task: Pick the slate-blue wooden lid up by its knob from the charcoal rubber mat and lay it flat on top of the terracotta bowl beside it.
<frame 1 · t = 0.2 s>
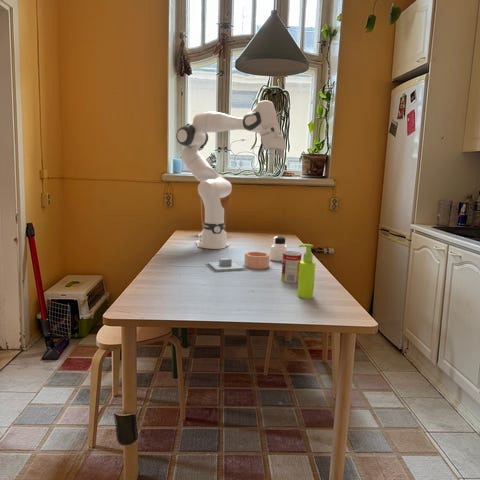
hand: (278, 158, 209), 52 cm above the table, tool tilted 20°, fingers open, 8 cm apart
mat: (225, 268, 190), on the table
bowl: (256, 266, 196), on the table
soap dispenser: (303, 296, 155), on the table
lid: (225, 267, 190), resting on mat
pancake mix bag: (213, 235, 274), on the table
medicine bottle: (278, 259, 212), on the table
canned food: (290, 280, 175), on the table
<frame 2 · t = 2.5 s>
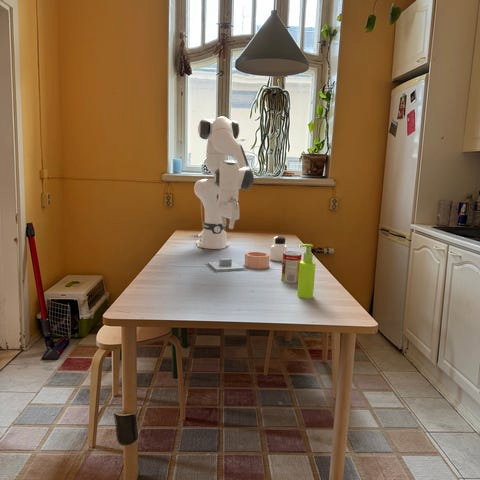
hand: (227, 227, 186), 19 cm above the table, tool pointing down, fingers open, 8 cm apart
nothing on the table moved.
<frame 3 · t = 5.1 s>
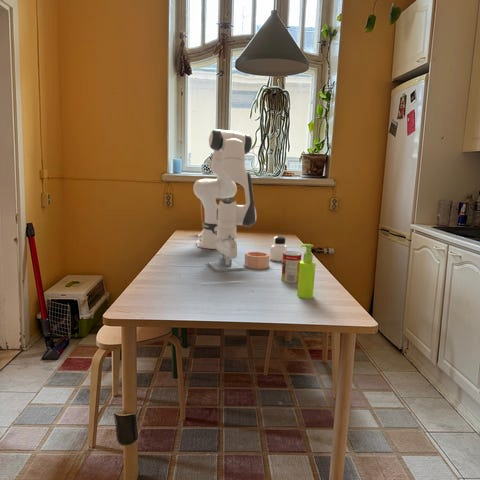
hand: (225, 263, 189), 2 cm above the table, tool pointing down, fingers closed on lid, 3 cm apart
lid: (225, 267, 190), resting on mat, touching gripper
everything else where it was.
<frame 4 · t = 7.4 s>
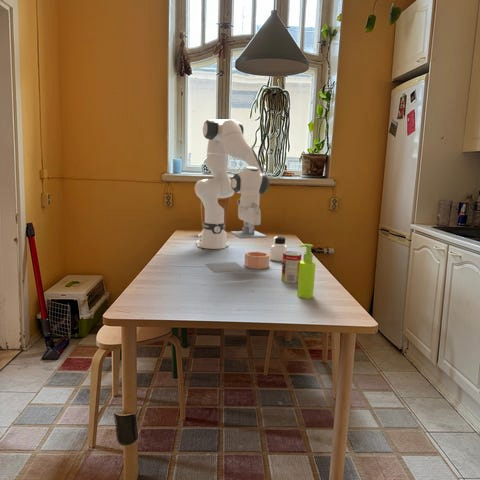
hand: (248, 231, 191), 17 cm above the table, tool pointing down, fingers closed on lid, 3 cm apart
lid: (248, 235, 191), point 15 cm above the table, touching gripper
everything else where it was.
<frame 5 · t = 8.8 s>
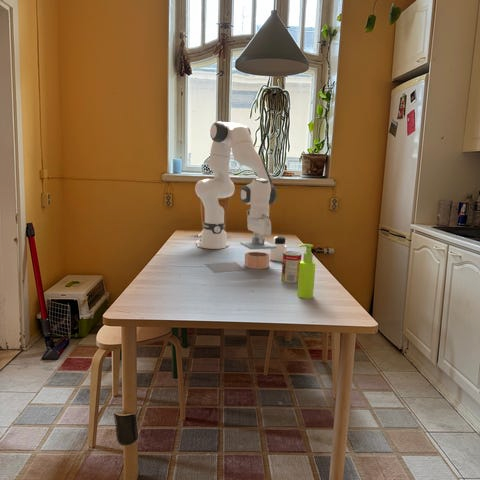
hand: (258, 242, 193), 12 cm above the table, tool pointing down, fingers closed on lid, 3 cm apart
lid: (258, 246, 194), point 10 cm above the table, touching gripper
everything else where it was.
when the fingers open (9 cm above the table, at t = 9.9 s): lid drops 1 cm, resting on bowl.
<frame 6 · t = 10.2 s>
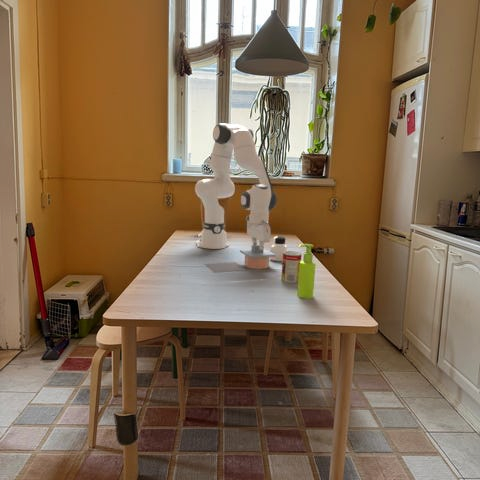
hand: (257, 247, 194), 9 cm above the table, tool pointing down, fingers open, 5 cm apart
lid: (257, 254, 195), point 6 cm above the table, touching bowl
everything else where it was.
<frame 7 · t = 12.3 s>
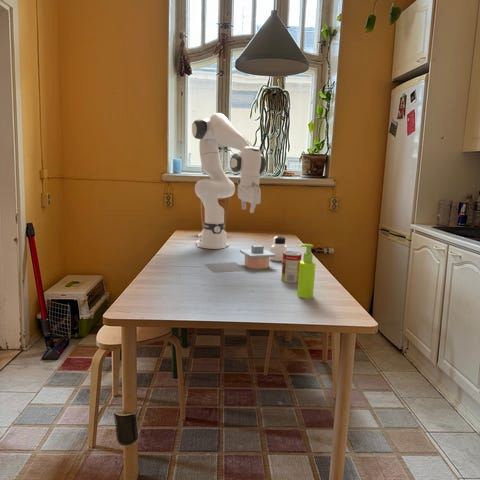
hand: (247, 210, 194), 26 cm above the table, tool pointing down, fingers open, 8 cm apart
nothing on the table moved.
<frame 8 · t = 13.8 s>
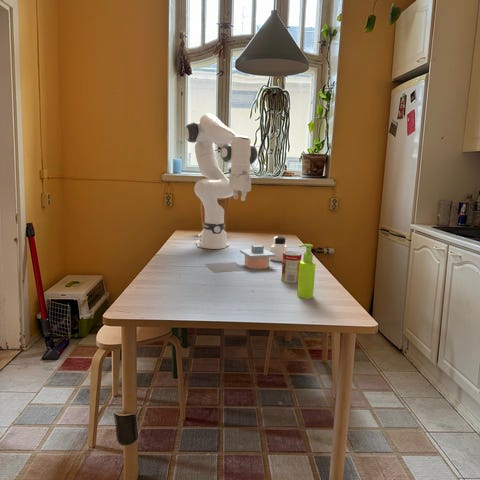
hand: (239, 199, 195), 31 cm above the table, tool pointing down, fingers open, 8 cm apart
nothing on the table moved.
at the end: lid 0.0 cm off-centre on the bowl, point 6.0 cm above the bowl's base; lid tilted 0°; the gripper is holding nothing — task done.
